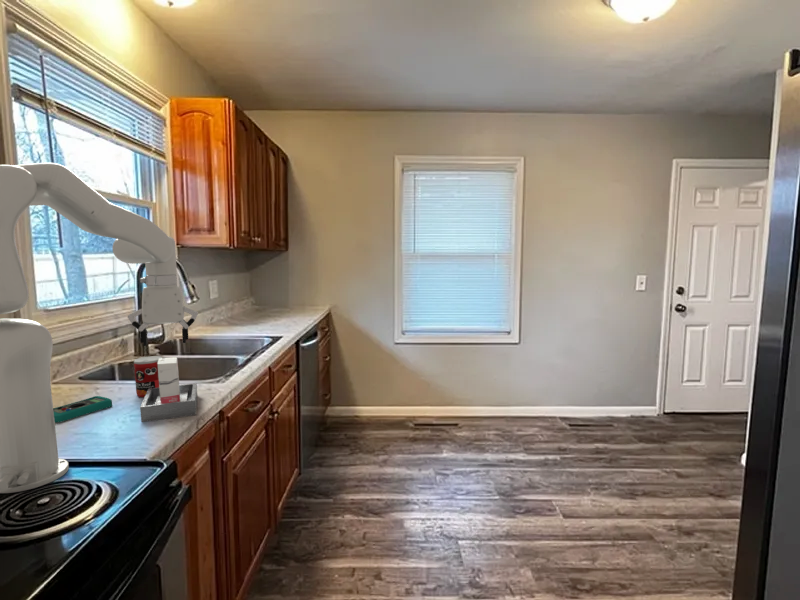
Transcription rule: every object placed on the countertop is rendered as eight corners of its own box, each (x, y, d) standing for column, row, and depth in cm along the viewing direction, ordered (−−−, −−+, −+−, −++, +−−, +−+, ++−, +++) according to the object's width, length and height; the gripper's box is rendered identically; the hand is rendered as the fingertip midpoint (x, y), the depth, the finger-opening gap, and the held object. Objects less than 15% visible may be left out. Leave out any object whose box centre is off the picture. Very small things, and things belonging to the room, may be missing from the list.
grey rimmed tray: (195, 414, 127) (194, 400, 127) (141, 422, 122) (140, 407, 122) (197, 395, 144) (196, 383, 143) (149, 401, 139) (148, 388, 138)
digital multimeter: (41, 420, 126) (40, 410, 126) (98, 403, 139) (97, 394, 139) (57, 425, 123) (55, 414, 122) (113, 407, 136) (113, 397, 135)
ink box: (180, 404, 130) (177, 362, 128) (160, 407, 128) (156, 364, 126) (180, 395, 138) (177, 355, 136) (161, 398, 136) (158, 357, 134)
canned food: (130, 396, 144) (127, 361, 143) (150, 389, 152) (147, 355, 151) (151, 398, 142) (149, 362, 141) (170, 390, 150) (168, 356, 149)
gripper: (123, 283, 122) (127, 348, 124) (196, 281, 129) (199, 343, 130) (128, 282, 129) (131, 344, 131) (196, 280, 136) (199, 339, 137)
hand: (165, 343), depth 130 cm, fingers open, 9 cm apart
